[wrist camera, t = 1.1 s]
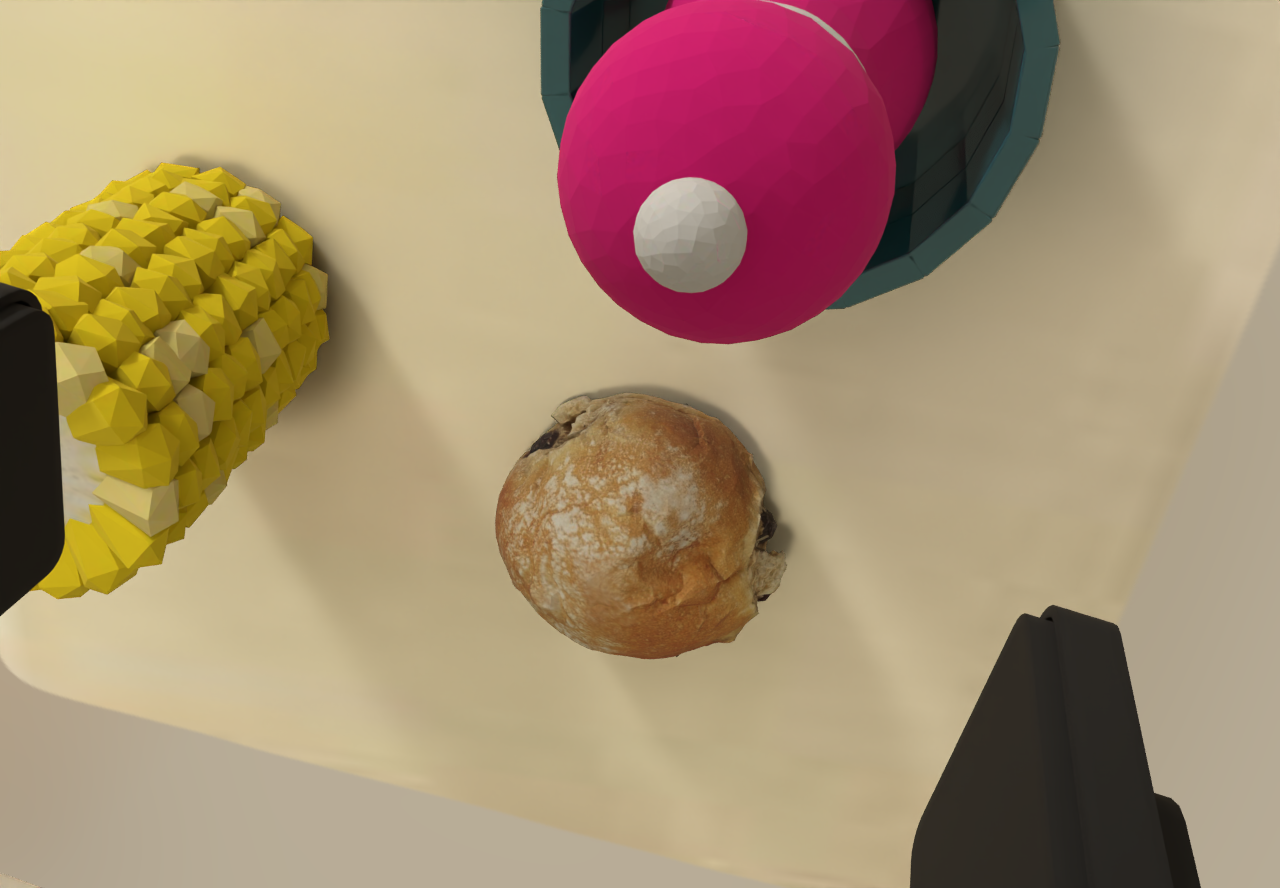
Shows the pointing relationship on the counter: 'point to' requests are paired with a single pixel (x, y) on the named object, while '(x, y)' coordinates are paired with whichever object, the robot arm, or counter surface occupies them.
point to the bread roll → (639, 527)
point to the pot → (932, 151)
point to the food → (165, 354)
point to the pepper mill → (742, 158)
